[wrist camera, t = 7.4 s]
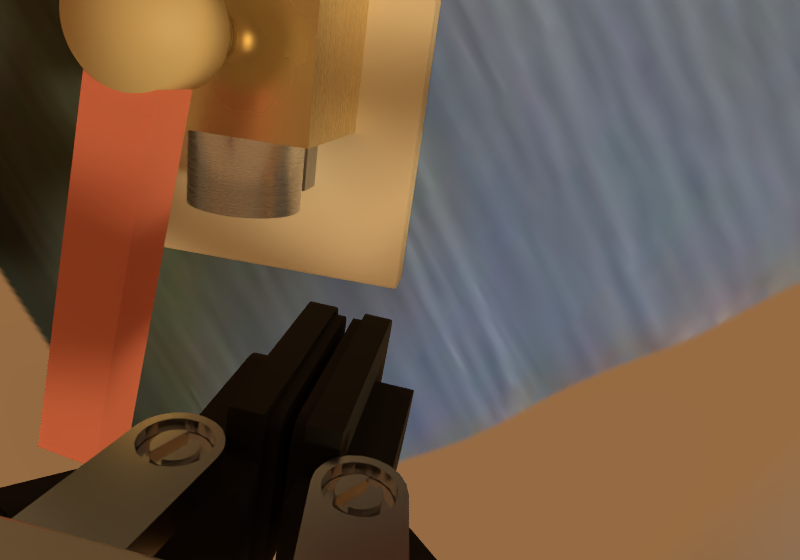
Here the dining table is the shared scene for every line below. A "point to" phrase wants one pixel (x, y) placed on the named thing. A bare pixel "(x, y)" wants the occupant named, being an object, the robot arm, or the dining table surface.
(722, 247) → the dining table surface
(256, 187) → the valve body
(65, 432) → the valve lever
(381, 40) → the mounting board
